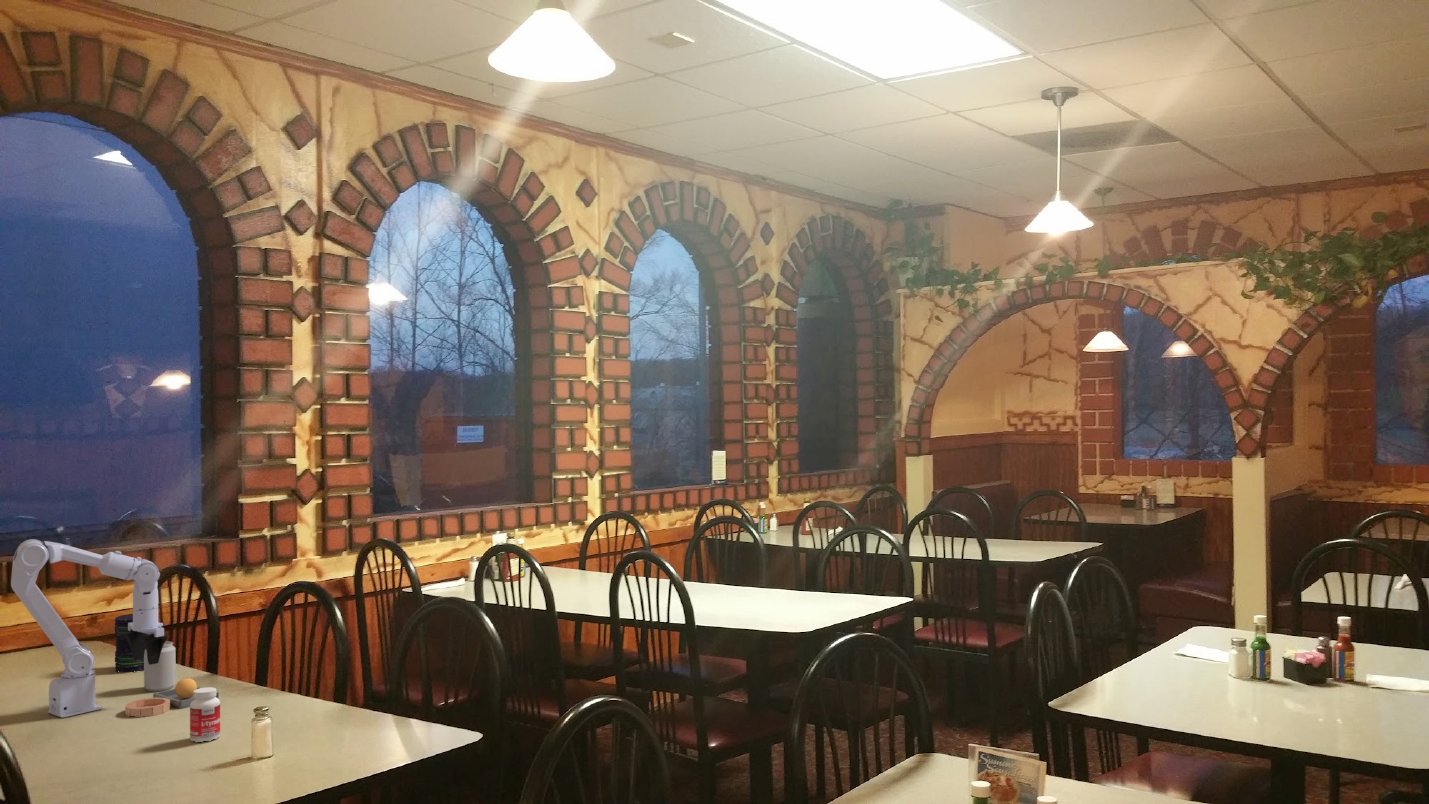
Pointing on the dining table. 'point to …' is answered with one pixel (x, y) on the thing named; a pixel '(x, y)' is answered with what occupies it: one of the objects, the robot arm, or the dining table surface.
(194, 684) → the ball
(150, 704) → the dish
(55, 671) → the dining table surface
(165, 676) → the can
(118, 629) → the storage jar
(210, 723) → the pill bottle
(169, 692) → the tray
